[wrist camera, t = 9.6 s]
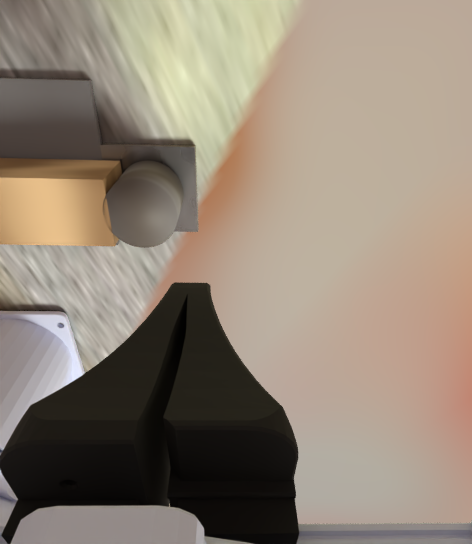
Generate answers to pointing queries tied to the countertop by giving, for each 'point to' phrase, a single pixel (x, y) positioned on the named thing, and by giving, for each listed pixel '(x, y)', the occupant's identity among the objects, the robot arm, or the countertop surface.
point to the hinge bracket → (173, 157)
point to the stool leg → (87, 202)
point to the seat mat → (48, 119)
